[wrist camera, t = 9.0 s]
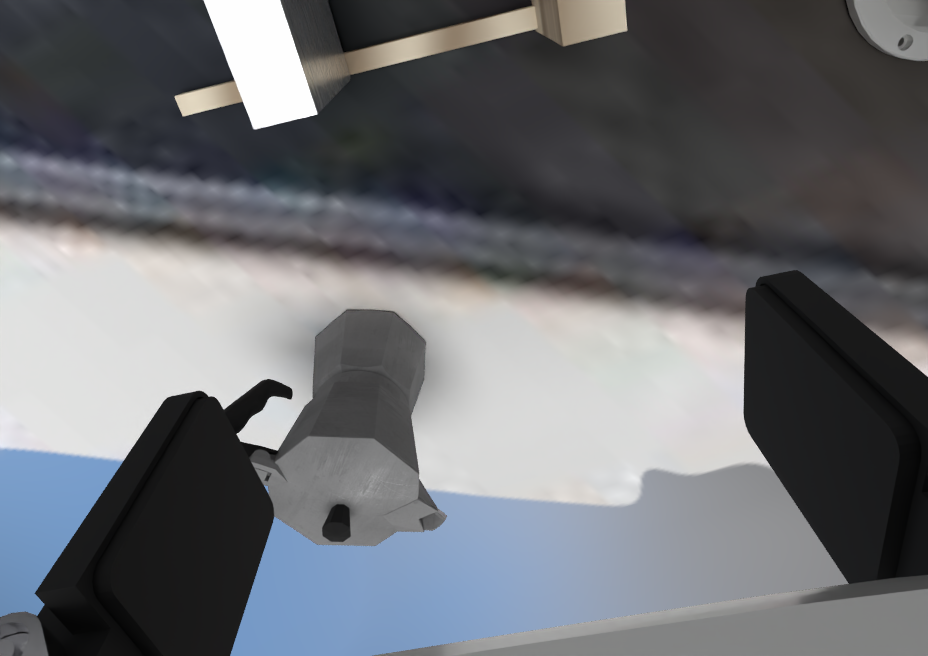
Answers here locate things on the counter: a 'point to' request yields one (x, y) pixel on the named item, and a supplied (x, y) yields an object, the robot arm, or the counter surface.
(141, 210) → the counter surface
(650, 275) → the counter surface
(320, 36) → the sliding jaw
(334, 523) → the coffeepot
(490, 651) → the robot arm
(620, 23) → the frame
